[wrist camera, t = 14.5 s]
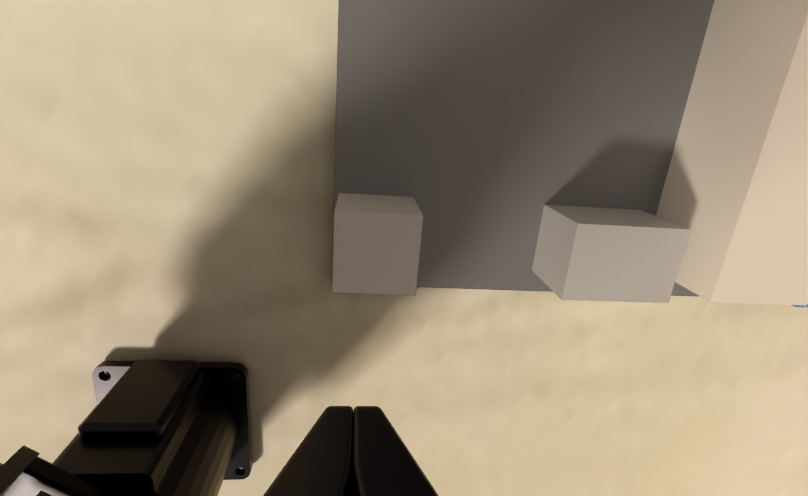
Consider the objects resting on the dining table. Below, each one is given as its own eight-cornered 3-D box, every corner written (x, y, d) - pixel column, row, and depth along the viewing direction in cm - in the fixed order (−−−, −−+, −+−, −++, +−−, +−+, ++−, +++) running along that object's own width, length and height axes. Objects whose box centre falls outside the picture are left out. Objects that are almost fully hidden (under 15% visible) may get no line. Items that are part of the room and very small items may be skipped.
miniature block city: (776, 294, 21) (854, 330, 18) (332, 278, 19) (326, 317, 16) (963, -187, 15) (1133, -268, 12) (347, -302, 13) (342, -447, 9)
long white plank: (722, 266, 20) (807, 305, 16) (642, 263, 19) (710, 302, 16) (867, -163, 15) (1039, -254, 11) (763, -181, 14) (906, -281, 11)
